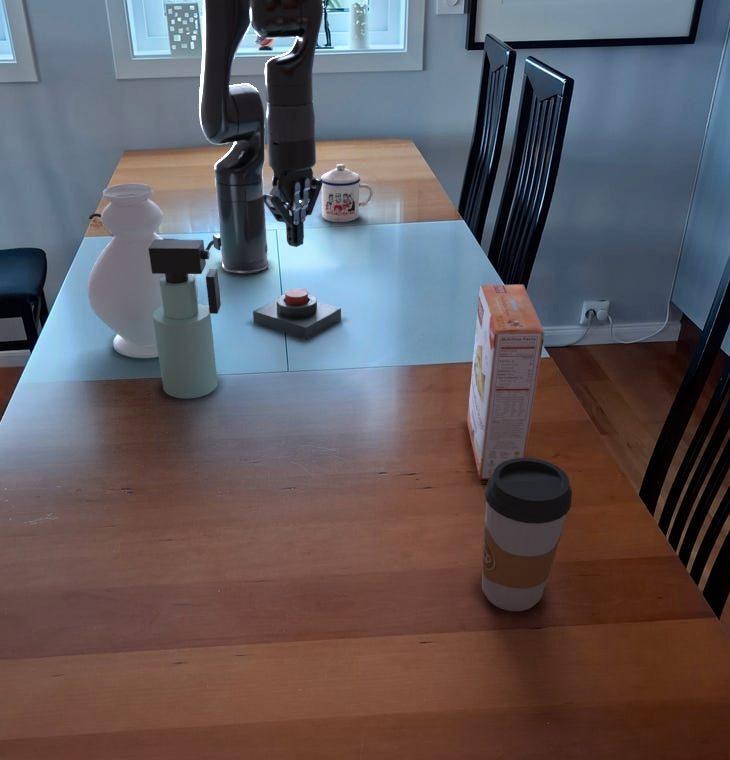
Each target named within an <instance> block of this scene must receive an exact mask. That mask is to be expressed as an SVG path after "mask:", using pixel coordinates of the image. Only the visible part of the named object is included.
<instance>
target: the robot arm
mask: <svg viewBox="0 0 730 760" xmlns="http://www.w3.org/2000/svg"><path fill="white" fill-rule="evenodd" d="M323 15H324V0H202V27H203V28H202V58H201V71H200V72H201V73H200V87H199V104H198V105H199V106H198V109H199V121H200V126H201V130H202V133H203V135H204V136H205V138H206V140H207V141H208V142H209V143H211V144H212V145H225V144H231V143H233V145H232V147H231V148H230V150H229V151H228V152H227V153H226V154H225V155H224V156H223V157H221V159H219V160H218V161H217V162H216V163H214V168H213V173H214V184H215V195H216V204H217V205H216V206H217V216H218V217H217V220H218V230H219V233H218V234H213V235H212V240H210V242H209V243H208V244H207V246H206V248H204V250H208V251H209V252H210V249H211V248H212V247H213V248H215V250H217V251H220V253H221V265H222V266H221V267H222V269H223V270H224V271H225V272H227V273H230V274H235V275H250V274H257V273H259V272H260V273H261V272H263V271H264V270H266V269H267V268H268V267H269V260H268V252H269V249H268V248H269V247H268V241H267V239H268V238H267V224H266V223H267V222H266V208H265V207H267V208H268V210H269V212H270V213H271V214H272V216H273V218H274V219H275V221H277V222H279V223H284V224H285V231H286V232H285V233H286V242H287V244H288V246H291V247H295V248H298V247H299V246H302V245H304V240H305V239H304V238H305V232H304V231H305V230H304V227H305V226H304V223H305V221H306V218H307V217H308V216H311V215H312V214H313V211H314V208H315V206H316V203H317V200H318V198H319V195H320V193H321V191H322V180H321V179H318V178H316V177H314V170H313V167H315V166H316V163H317V148H316V146H317V145H316V116H315V109H314V89H313V67H314V60H315V54H316V47H317V42H318V40H319V39H318V38H319V36H320V35H319V34H320V31H321V30H320V29H321V25H322V23H323V22H322V21H323ZM250 27H252V30H254V32H255V33H256V34H257V35H258V36H259V37H261V38H262V39H265V40H276V39H289V38H296V39H295V41H294V44H293V46H292V47H291V49H290V50H289V51H288V52H286V53H283V54H281V55H277V56H275V57H272V58H270V59H269V60H267V62H266V63H265V67H264V77H265V78H264V79H265V97H266V113H265V109H264V104H263V100H262V98H261V95H260V93H259V91H258V90H257V88H256V87H254V86H253V85H251V84H250V83H241V84H239V83H238V84H233V85H231V77H232V69H233V64H234V60H235V58H236V55H237V53H238V50H239V48H240V47H241V44H242V43H243V41H244V38H245V36H246V34H247V33H248V31H249V28H250ZM266 142H267V143H266ZM266 145H267V160H268V161H267V162H268V166H269V167H270V168H271V170H272V171H273V174H272V175H273V176H272V180H271V185H272V188H271V190H270V191H269V194H268V193H265V191H264V172H263V171H264V166H265V161H266ZM101 214H102V213H99V212H94V213H91V214H90V215H89V217H88V220H92V219H94V218H95V217H98V218H100V219H101ZM163 239H164V240H180V239H179V238H165V237H164V238H163Z"/></svg>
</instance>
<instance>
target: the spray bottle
mask: <svg viewBox="0 0 730 760" xmlns="http://www.w3.org/2000/svg"><path fill="white" fill-rule="evenodd" d="M148 249H149V256H150V262H151V269H152V274H165V276H164V277H162V278H161V279H160V288H161V296H162V303H163V306H161V307H159V308H157V309H156V310H155V311H154V312H153V315H152V316H153V323H154V330H155V336H156V343H157V349H158V356H159V357H158V362H159V368H160V376H161V381H162V389H163V392H165V393H166V394H167V395H169V396H170V397H172V398H177V399H189V400H190V399H197V398H201V397H203V396H204V397H205V396H207V395H209V394H211V393H212V392H214V391H215V390H216V389H217V387H218V385H219V384H218V383H219V382H218V381H219V380H218V373H217V364H216V353H215V344H214V333H213V325H212V316H211V315H212V314H210V313H209V306H208V305H206V304H205V303H201V302H199V301H198V297H197V294H196V285H195V278H194V276H192V275H190V274H195V275H202V273H203V271H204V270H205V267H206V266H207V262H206V260H209V259H210V250H209V251H208V250H205V243H204V239H179V240H154V241H153V242H152V244H151V245H150V247H149V248H148Z"/></svg>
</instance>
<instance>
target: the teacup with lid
mask: <svg viewBox="0 0 730 760" xmlns="http://www.w3.org/2000/svg"><path fill="white" fill-rule="evenodd" d="M320 180H322V187H321V217H322V218H323V219H325V220H326V221H328V222H335V223H347V222H351V221H355V220H357V219H358V218H359V216H360V208H361V207H365V206H368V205H369V203H371V201H372V199H373V195H374V193H373V192H374V191H373V188H372V186H371V185H369V184H367V183H360V181H361V176H360V174H358V173H357V172H354V171H351V170H350V169H348V168H346V165H345V164H344V163H338V164H336V166H335V168H333V169H331V170H330V171H328V172H325V173H323V174H322V175H321V177H320ZM361 188H362V189H363V188H365V189H367V190H368V191H369V195H368V198H367V199H366V201H363V202H360V189H361Z"/></svg>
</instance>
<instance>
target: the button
mask: <svg viewBox="0 0 730 760" xmlns="http://www.w3.org/2000/svg"><path fill="white" fill-rule="evenodd" d="M284 294H285V303H286V304H289V305H303V304H306V303H308V294H309V291H308V290H307V289H306V288H301V287H295V288H294V287H293V288H290V289H287V290H286V291H285V292H284Z"/></svg>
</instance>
